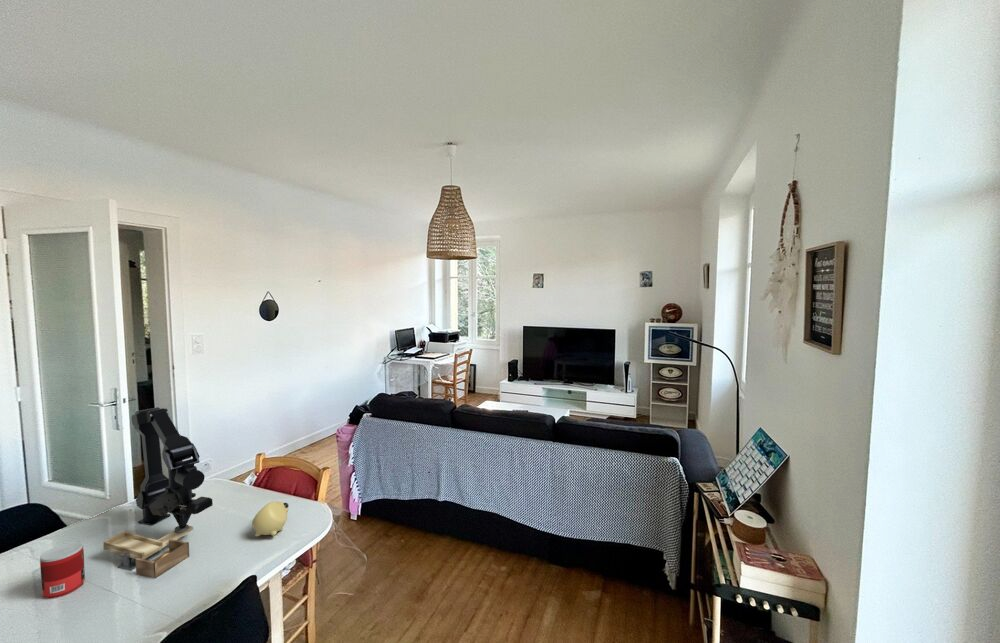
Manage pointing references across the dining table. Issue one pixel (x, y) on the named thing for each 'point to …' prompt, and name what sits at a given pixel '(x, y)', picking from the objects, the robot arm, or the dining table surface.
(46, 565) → the canned food
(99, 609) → the dining table surface
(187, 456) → the robot arm
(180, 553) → the tray
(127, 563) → the fulcrum
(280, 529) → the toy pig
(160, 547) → the lever
